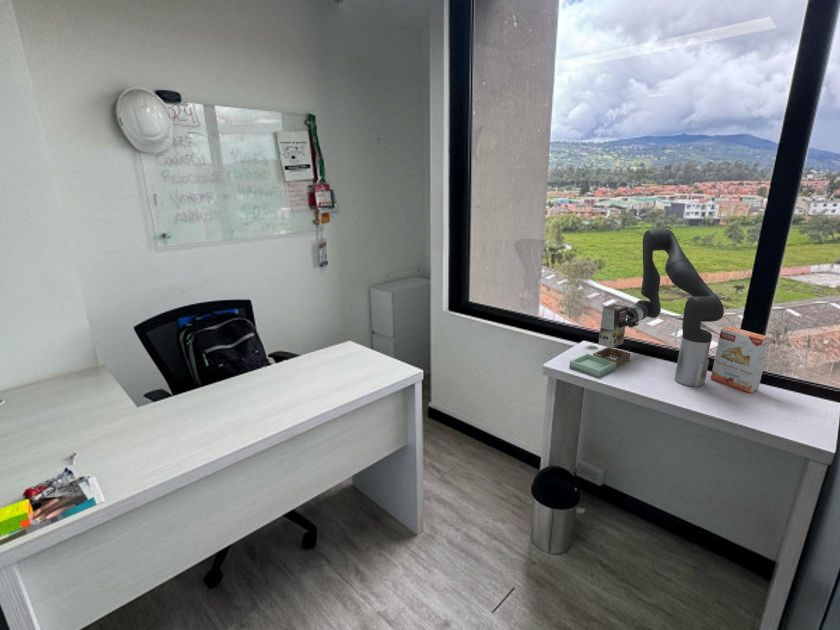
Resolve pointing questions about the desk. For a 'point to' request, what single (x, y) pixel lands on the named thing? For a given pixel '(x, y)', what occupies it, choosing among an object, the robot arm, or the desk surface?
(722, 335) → the cracker box
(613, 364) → the sage tray
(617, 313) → the coffee box
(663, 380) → the desk surface
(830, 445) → the desk surface
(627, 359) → the brown tray
